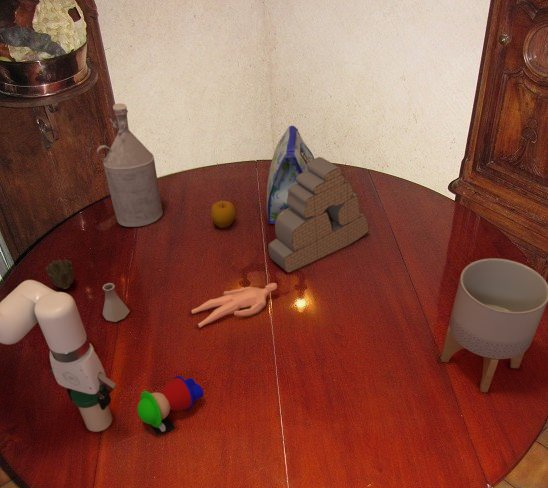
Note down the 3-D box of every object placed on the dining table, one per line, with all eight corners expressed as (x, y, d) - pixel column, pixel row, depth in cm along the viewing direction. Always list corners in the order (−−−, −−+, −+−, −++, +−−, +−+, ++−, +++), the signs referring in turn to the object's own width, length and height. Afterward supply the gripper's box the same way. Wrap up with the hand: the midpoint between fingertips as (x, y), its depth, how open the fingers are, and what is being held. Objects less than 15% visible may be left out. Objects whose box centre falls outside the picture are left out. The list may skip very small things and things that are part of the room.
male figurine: (187, 300, 156) (268, 270, 162) (190, 312, 160) (270, 283, 166) (198, 324, 149) (283, 292, 155) (202, 337, 152) (285, 305, 158)
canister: (110, 215, 196) (81, 104, 170) (158, 202, 202) (137, 93, 175) (119, 233, 188) (90, 120, 161) (168, 219, 193) (148, 108, 167)
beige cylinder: (83, 433, 128) (71, 404, 121) (87, 411, 133) (75, 383, 126) (111, 430, 129) (100, 401, 122) (113, 408, 133) (103, 379, 126)
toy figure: (186, 393, 139) (131, 419, 130) (184, 363, 134) (127, 387, 126) (206, 413, 133) (150, 441, 125) (206, 382, 128) (147, 409, 120)
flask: (115, 326, 154) (106, 298, 148) (98, 315, 158) (89, 288, 151) (134, 311, 159) (127, 284, 152) (117, 301, 162) (110, 274, 155)
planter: (443, 388, 135) (465, 309, 118) (437, 333, 149) (456, 255, 132) (524, 395, 133) (559, 316, 116) (511, 339, 147) (540, 260, 129)
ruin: (347, 219, 189) (346, 138, 168) (368, 233, 183) (370, 151, 162) (266, 262, 177) (255, 181, 156) (286, 279, 171) (276, 197, 150)
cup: (49, 295, 165) (41, 274, 159) (57, 279, 170) (50, 258, 165) (74, 295, 164) (67, 274, 159) (82, 279, 170) (75, 258, 165)
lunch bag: (315, 226, 188) (317, 155, 171) (265, 226, 189) (262, 155, 171) (314, 192, 205) (316, 123, 187) (269, 191, 205) (266, 124, 188)
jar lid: (104, 405, 122) (102, 400, 121) (71, 410, 121) (68, 405, 120) (106, 380, 127) (104, 375, 126) (74, 385, 127) (72, 380, 125)
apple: (227, 235, 185) (225, 213, 179) (206, 228, 189) (203, 206, 183) (241, 222, 191) (239, 200, 185) (220, 216, 194) (218, 194, 188)
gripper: (22, 349, 113) (48, 403, 125) (96, 369, 109) (116, 423, 121) (45, 324, 119) (68, 379, 131) (116, 342, 114) (133, 397, 126)
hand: (91, 400), depth 126 cm, fingers closed on jar lid, 7 cm apart
